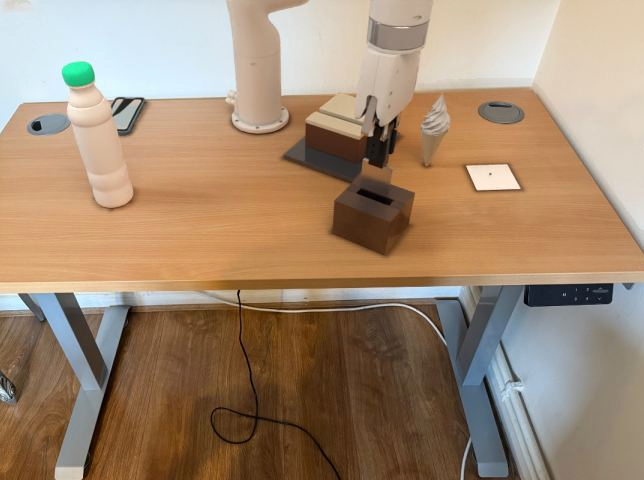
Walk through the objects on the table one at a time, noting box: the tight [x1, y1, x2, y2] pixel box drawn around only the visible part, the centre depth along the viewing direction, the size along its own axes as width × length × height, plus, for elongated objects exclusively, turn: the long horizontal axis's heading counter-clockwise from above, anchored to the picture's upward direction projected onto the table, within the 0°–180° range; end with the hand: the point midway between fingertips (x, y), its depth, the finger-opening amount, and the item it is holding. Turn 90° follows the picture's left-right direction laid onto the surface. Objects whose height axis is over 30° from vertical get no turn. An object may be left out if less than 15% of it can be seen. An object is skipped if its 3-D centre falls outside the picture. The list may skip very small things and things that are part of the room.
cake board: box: [283, 131, 401, 184], centre depth 109 cm, size 16×20×1 cm
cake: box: [318, 92, 366, 126], centre depth 109 cm, size 12×8×6 cm, turn 55°
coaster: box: [465, 164, 521, 191], centre depth 100 cm, size 8×8×1 cm
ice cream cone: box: [419, 92, 451, 167], centre depth 99 cm, size 5×5×15 cm
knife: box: [359, 121, 395, 205], centre depth 83 cm, size 5×2×16 cm, turn 55°
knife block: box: [331, 174, 416, 256], centre depth 89 cm, size 10×9×7 cm
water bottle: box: [61, 60, 134, 209], centre depth 91 cm, size 7×7×25 cm
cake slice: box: [304, 111, 367, 164], centre depth 105 cm, size 12×4×6 cm, turn 55°
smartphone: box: [110, 96, 146, 136], centre depth 120 cm, size 7×1×15 cm
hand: (379, 154), depth 81 cm, fingers closed on knife, 2 cm apart
